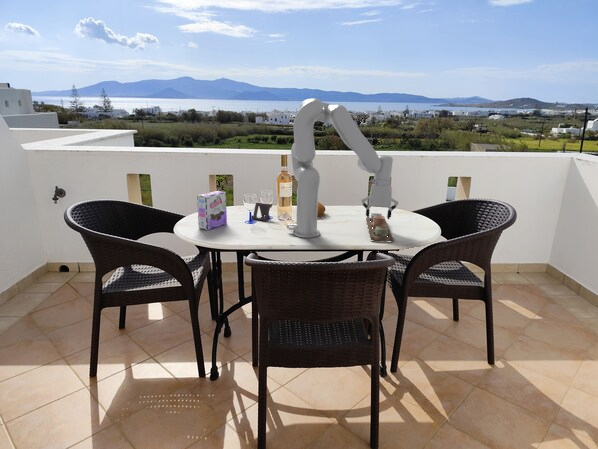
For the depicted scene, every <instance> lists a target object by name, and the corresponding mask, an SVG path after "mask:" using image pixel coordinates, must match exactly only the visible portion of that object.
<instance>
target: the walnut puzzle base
mask: <svg viewBox="0 0 598 449" xmlns="http://www.w3.org/2000/svg"><path fill="white" fill-rule="evenodd" d="M370 214H371V215H370V217H369V218H367V217H365V219H366V220H365V222H366V221H367V223H366V226H367V225H368V227H367V230H368V229H369V231H368V234H370V235H369V238H371V239H370V241H371V240H374V241H393V242H394V236H393V234H392V233H391V229H390V228H389V225H388V223H387V221H386V219H385V226H384V227H383V226H376V227H375V229H372V227H373V217H374V216H383V214H382V213H373V212H372V213H370ZM370 221H371V222H370ZM374 235H375V236H374ZM387 236H388V237H387Z"/></svg>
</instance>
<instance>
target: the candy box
mask: <svg viewBox="0 0 598 449" xmlns="http://www.w3.org/2000/svg"><path fill="white" fill-rule="evenodd" d="M226 194H227V193H226V191H220V190H215V191H211V192H208V193H203V194H197V196H196V197H197V214H198V216H197V218H198V221H197V222H198V223H197V224H198V229H201V230H204V231H210V230H212V229H215V228H218V227H222V226H225V225H227V224H228V222H227V220H228V219H227V216H228V215H227V195H226Z"/></svg>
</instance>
